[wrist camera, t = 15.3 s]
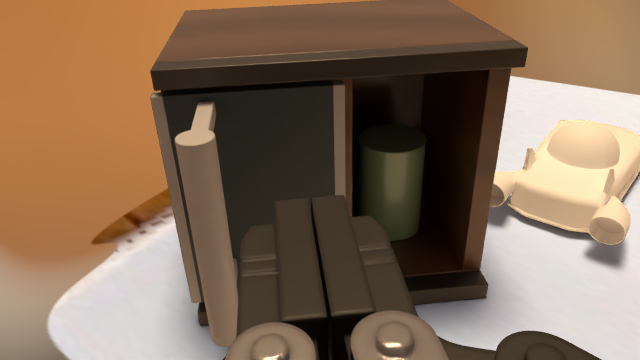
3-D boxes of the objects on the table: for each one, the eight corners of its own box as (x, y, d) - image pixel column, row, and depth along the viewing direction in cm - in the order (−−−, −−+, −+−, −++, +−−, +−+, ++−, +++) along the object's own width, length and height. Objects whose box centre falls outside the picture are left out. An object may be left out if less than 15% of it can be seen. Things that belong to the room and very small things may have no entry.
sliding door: (362, 360, 27) (365, 130, 21) (179, 379, 26) (123, 147, 20) (344, 281, 32) (343, 80, 26) (192, 296, 32) (152, 92, 25)
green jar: (411, 204, 41) (416, 121, 37) (427, 238, 37) (435, 149, 33) (353, 209, 40) (353, 126, 37) (363, 244, 36) (364, 155, 33)
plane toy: (666, 157, 48) (686, 98, 46) (615, 267, 35) (638, 194, 32) (552, 131, 54) (563, 77, 51) (470, 217, 41) (479, 151, 38)
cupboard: (486, 297, 33) (528, 47, 25) (200, 325, 32) (149, 70, 24) (426, 191, 45) (442, -3, 37) (215, 208, 43) (185, 10, 35)
